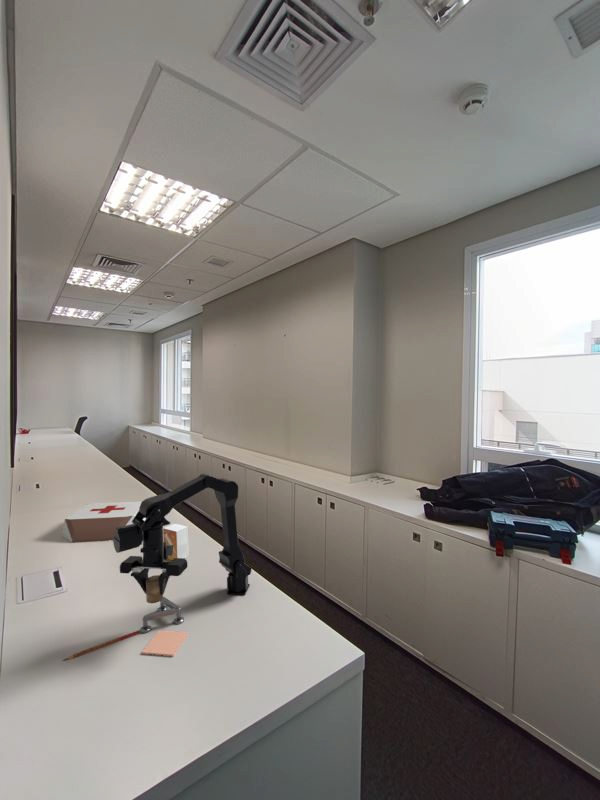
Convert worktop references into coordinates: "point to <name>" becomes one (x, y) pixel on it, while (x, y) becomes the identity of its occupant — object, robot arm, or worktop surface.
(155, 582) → the wooden dowel cylinder
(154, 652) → the terracotta mat
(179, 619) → the dark grey bent piece
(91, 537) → the first aid kit
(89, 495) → the worktop surface
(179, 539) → the small box
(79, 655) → the pencil
